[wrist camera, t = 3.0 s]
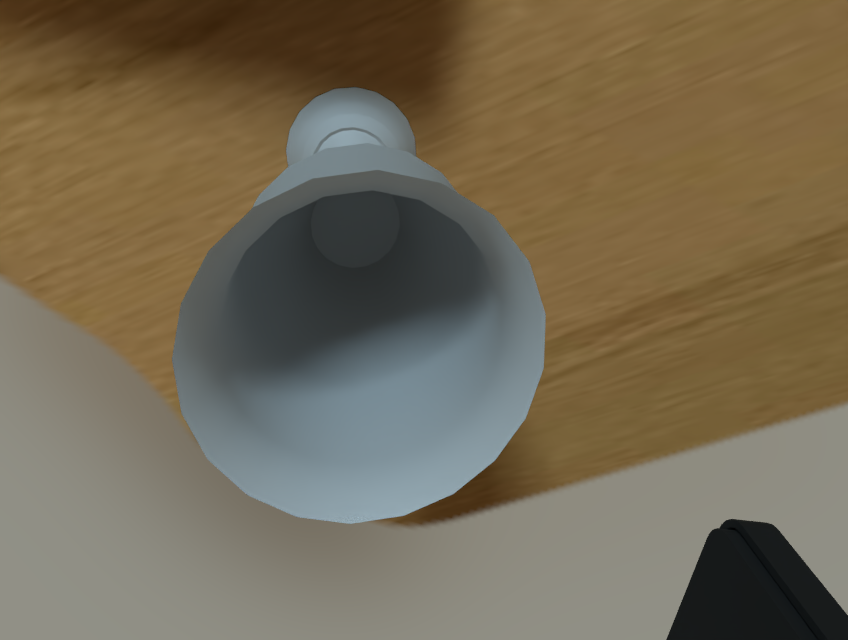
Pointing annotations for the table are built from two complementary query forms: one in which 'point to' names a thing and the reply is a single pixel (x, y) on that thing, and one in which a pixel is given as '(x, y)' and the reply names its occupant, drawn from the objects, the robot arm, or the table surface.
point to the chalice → (358, 327)
